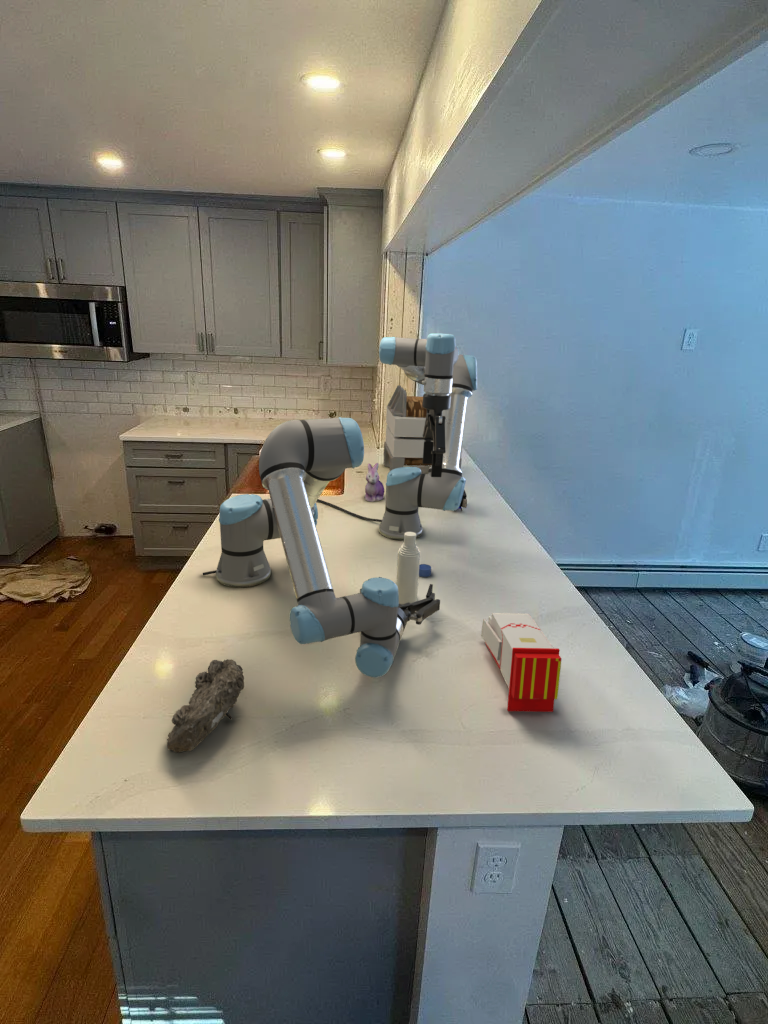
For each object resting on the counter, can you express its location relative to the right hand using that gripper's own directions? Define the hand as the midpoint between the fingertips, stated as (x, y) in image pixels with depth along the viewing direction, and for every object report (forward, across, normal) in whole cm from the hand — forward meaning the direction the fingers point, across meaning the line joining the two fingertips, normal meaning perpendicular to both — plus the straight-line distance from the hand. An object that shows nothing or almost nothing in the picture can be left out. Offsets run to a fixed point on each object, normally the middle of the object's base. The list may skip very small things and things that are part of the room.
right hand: (431, 470), depth 160 cm
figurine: (+32, -70, -9) cm, 78 cm away
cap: (+30, 0, 0) cm, 30 cm away
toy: (+32, +49, +12) cm, 60 cm away
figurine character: (+32, -60, +24) cm, 72 cm away
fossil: (+32, +61, -51) cm, 86 cm away
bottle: (+32, +16, -8) cm, 37 cm away
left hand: (+26, +21, -9) cm, 34 cm away
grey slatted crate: (+32, -110, +17) cm, 116 cm away
